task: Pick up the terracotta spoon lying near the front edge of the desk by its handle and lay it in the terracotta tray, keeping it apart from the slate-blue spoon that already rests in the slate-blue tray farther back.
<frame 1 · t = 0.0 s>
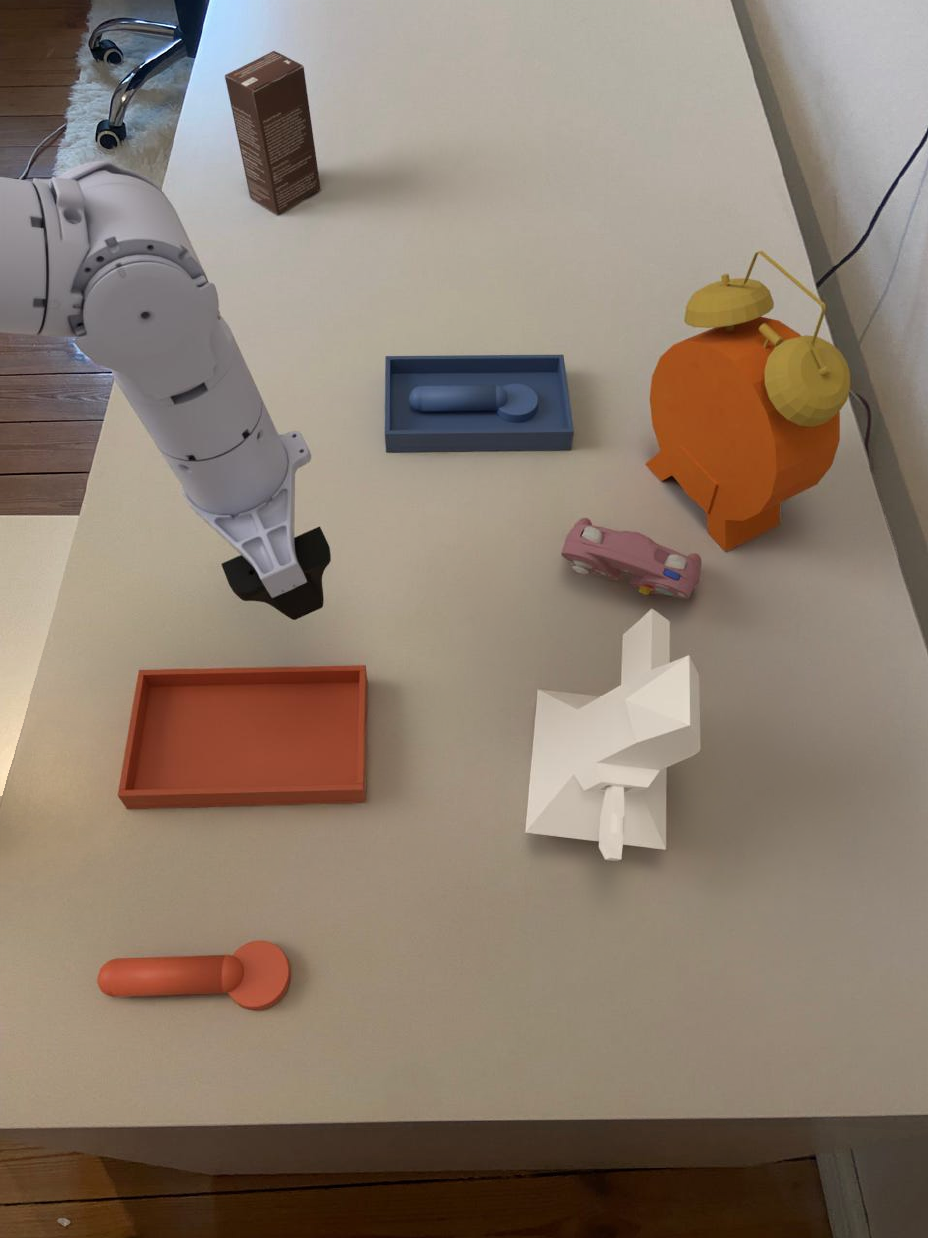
hand: (285, 561, 60), 9 cm above the table, tool pointing down, fingers open, 7 cm apart
red tray: (252, 742, 63), on the table
white faceted sculpture: (592, 791, 61), on the table
red spoon: (202, 979, 54), on the table
blue tray: (476, 411, 79), on the table
box: (284, 196, 95), on the table
pink toy car: (626, 579, 71), on the table
alarm clock: (712, 494, 75), on the table
blue spoon: (476, 407, 79), resting on blue tray
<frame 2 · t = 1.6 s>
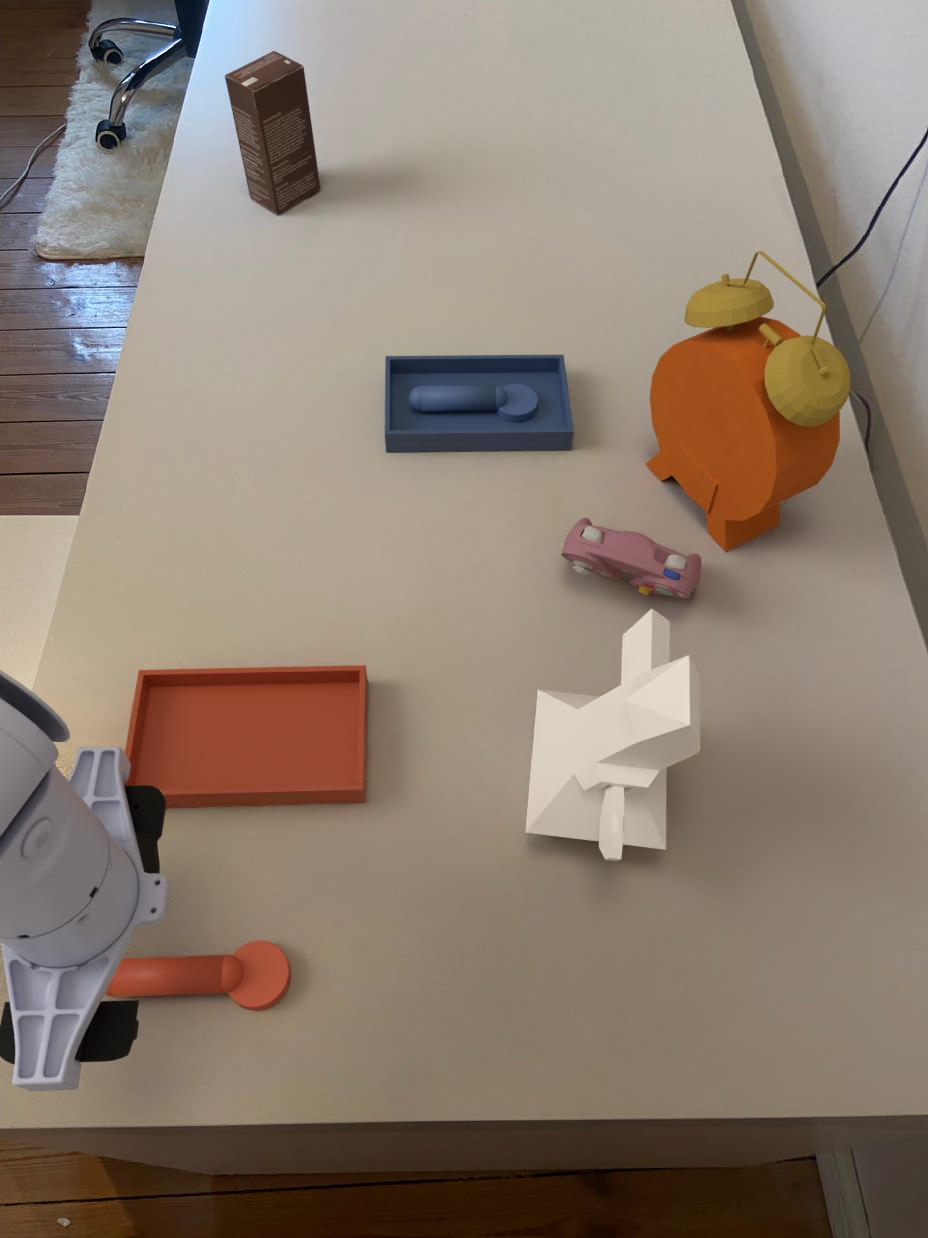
hand: (128, 953, 49), 6 cm above the table, tool pointing down, fingers open, 7 cm apart
nothing on the table moved.
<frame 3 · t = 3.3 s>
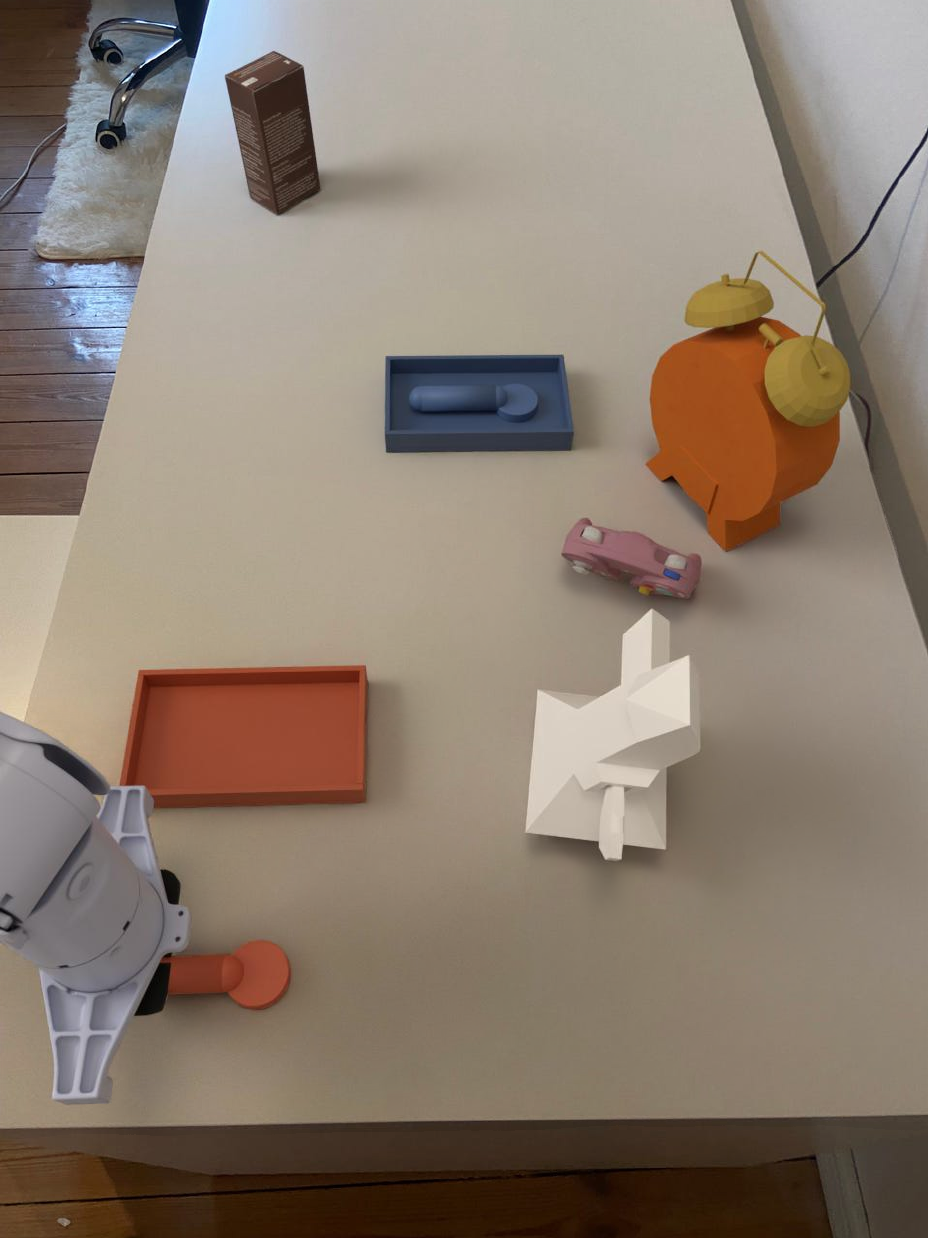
hand: (150, 974, 53), 1 cm above the table, tool pointing down, fingers closed on red spoon, 2 cm apart
red spoon: (202, 978, 54), on the table, touching gripper
everything else where it was.
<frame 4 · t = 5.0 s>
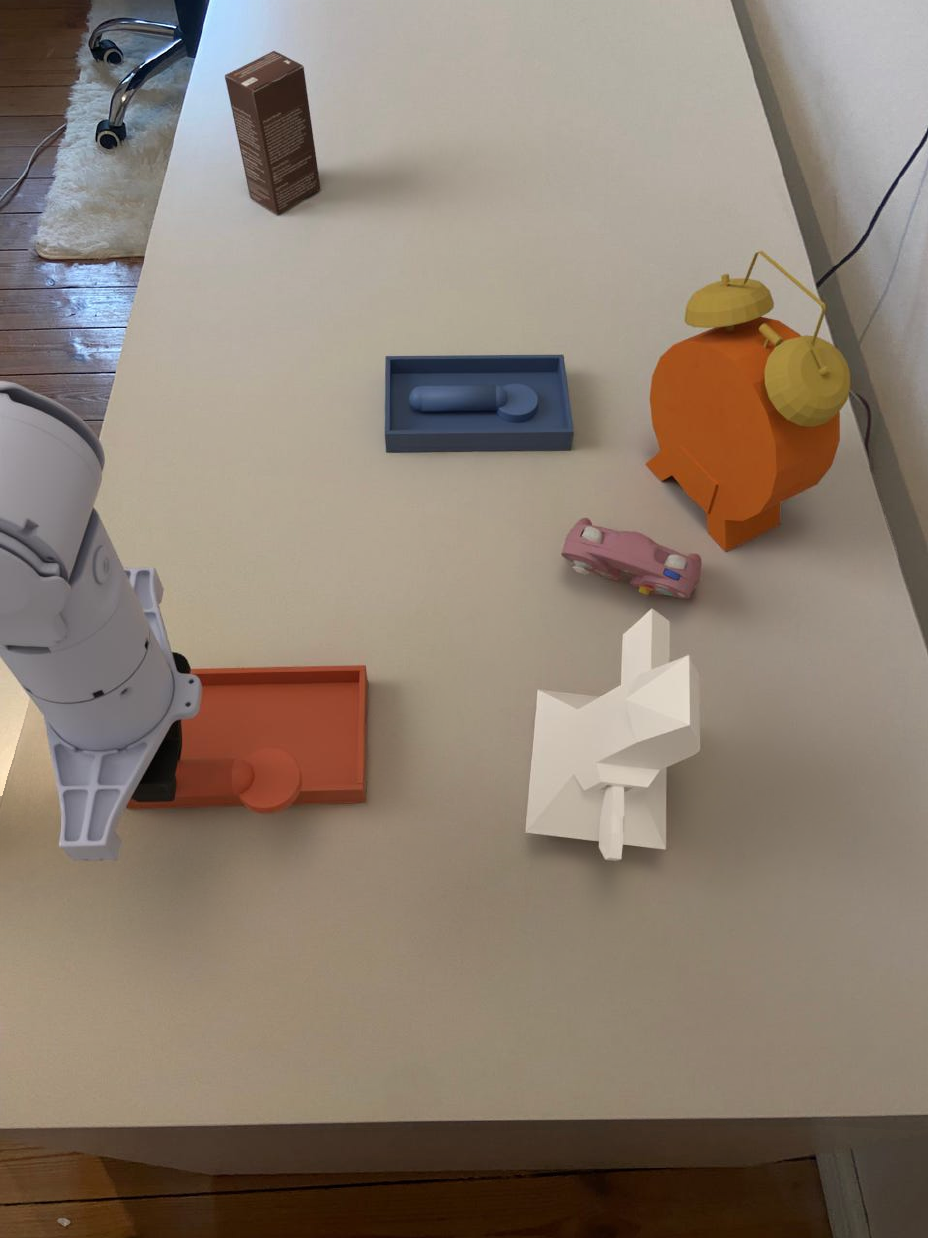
hand: (159, 775, 52), 8 cm above the table, tool pointing down, fingers closed on red spoon
red spoon: (211, 784, 53), point 7 cm above the table, touching gripper
everything else where it was.
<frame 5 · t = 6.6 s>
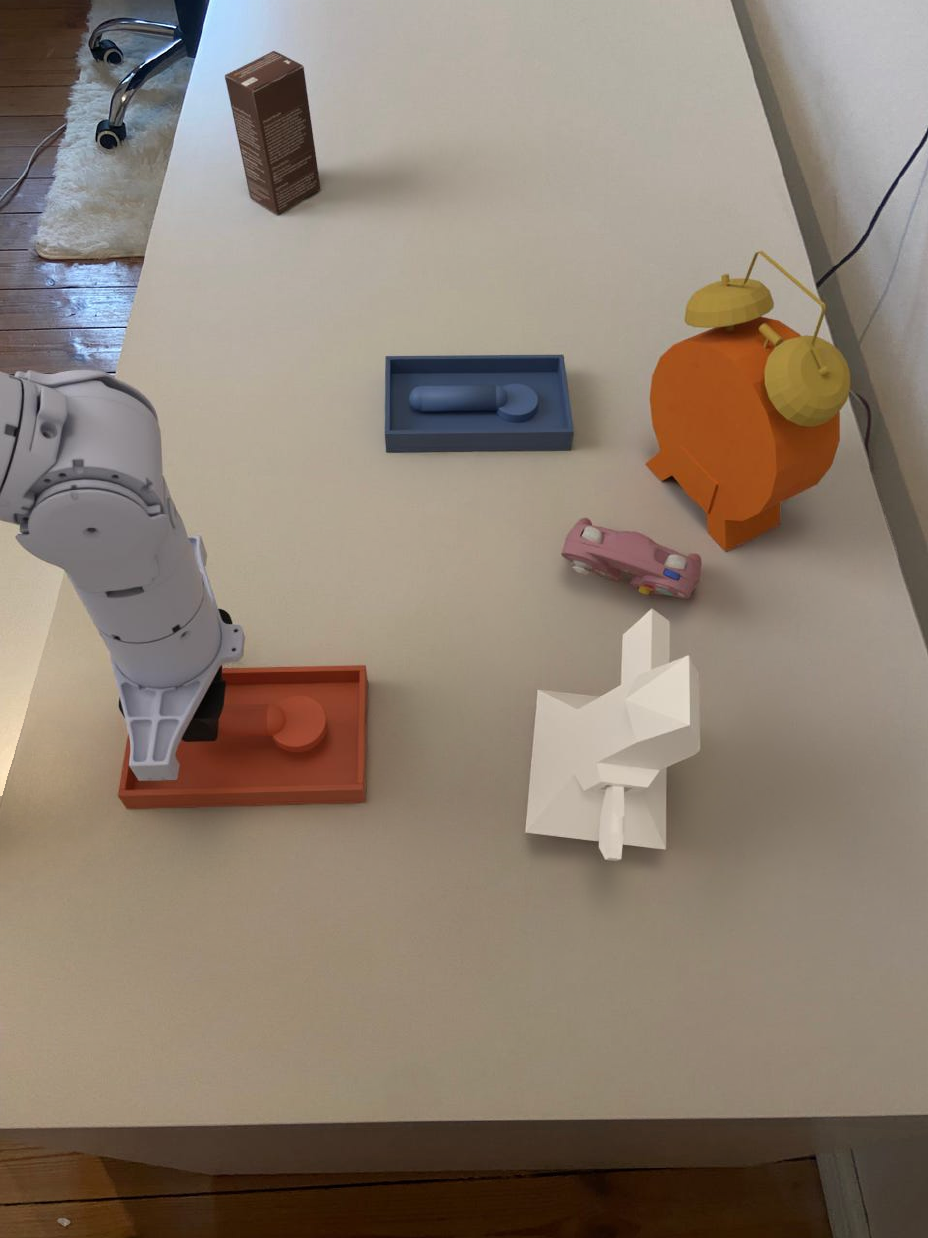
hand: (202, 719, 60), 3 cm above the table, tool pointing down, fingers closed on red spoon, 2 cm apart
red spoon: (248, 728, 61), point 2 cm above the table, touching gripper
everything else where it was.
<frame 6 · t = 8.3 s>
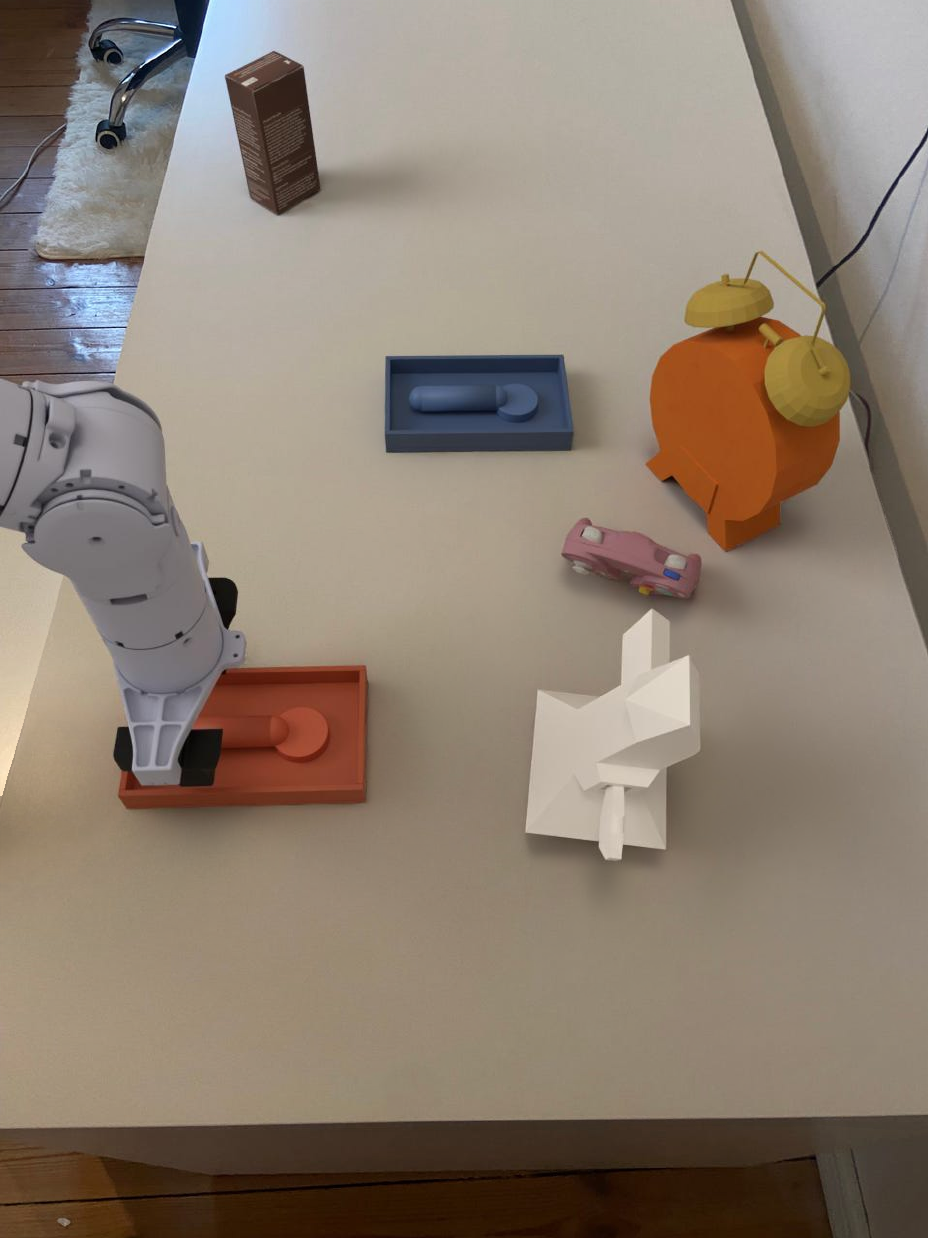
hand: (203, 723, 60), 3 cm above the table, tool pointing down, fingers open, 7 cm apart
red spoon: (251, 738, 62), resting on red tray
everything else where it was.
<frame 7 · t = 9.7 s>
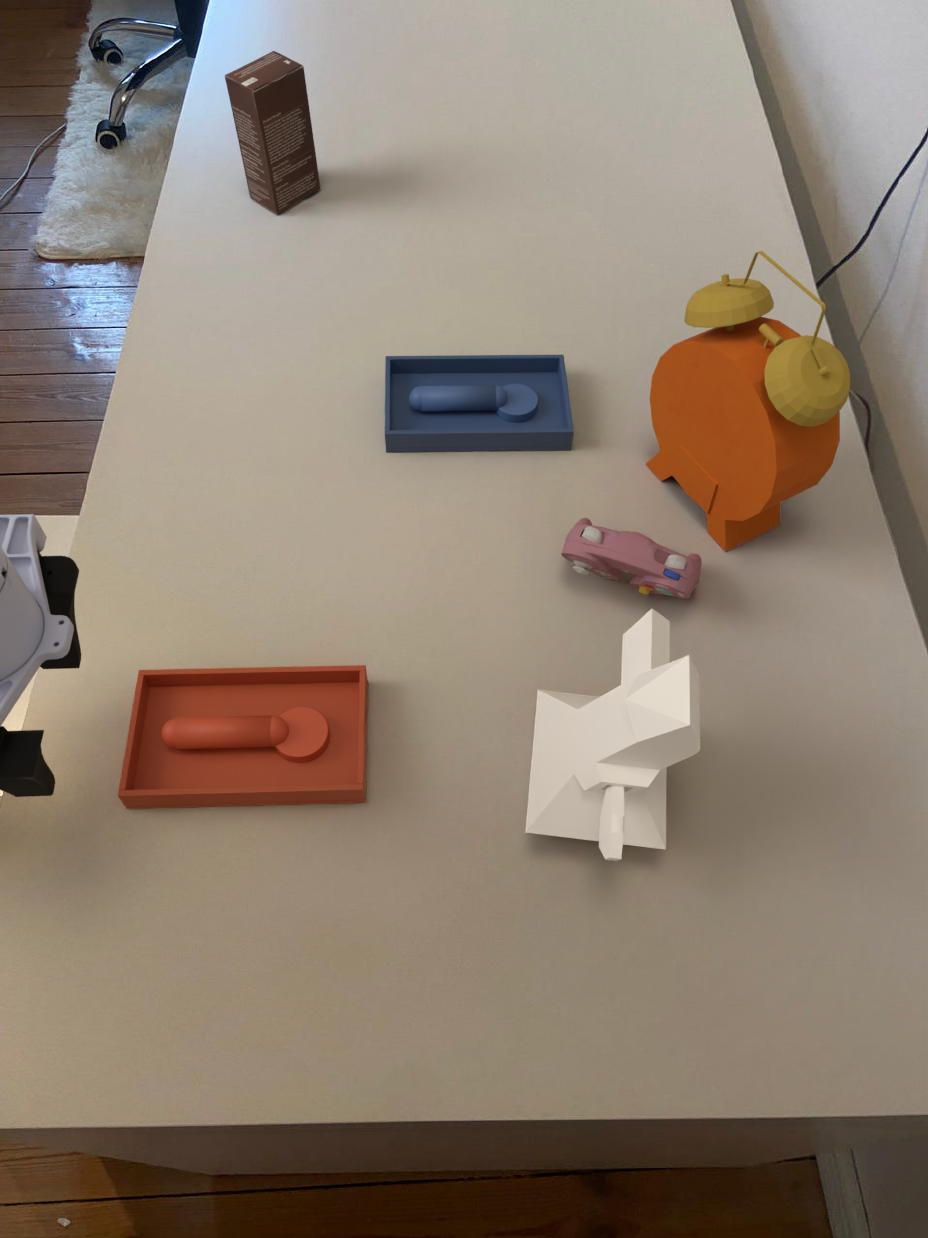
hand: (49, 724, 53), 9 cm above the table, tool pointing down, fingers open, 7 cm apart
nothing on the table moved.
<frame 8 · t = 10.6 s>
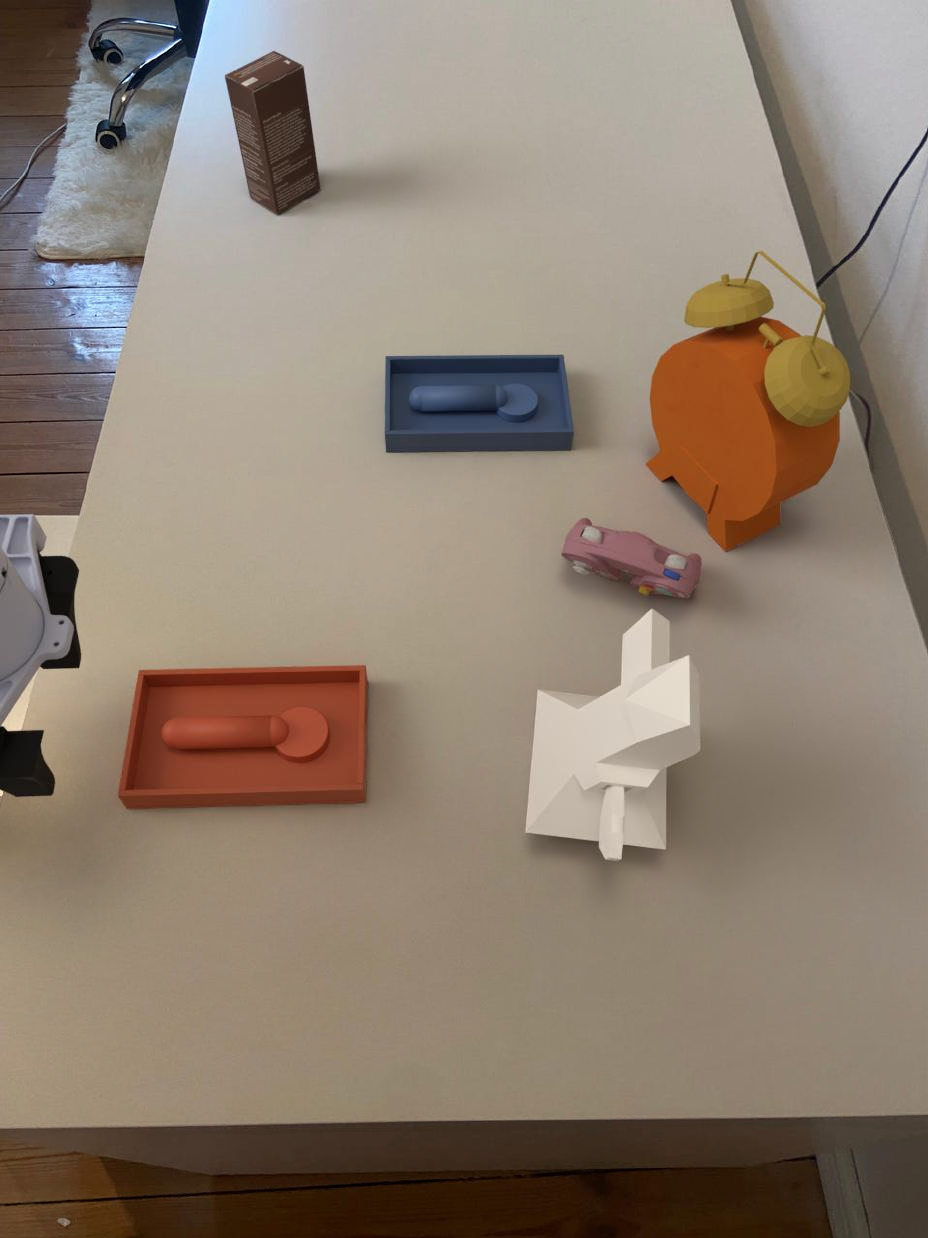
hand: (49, 724, 53), 9 cm above the table, tool pointing down, fingers open, 7 cm apart
nothing on the table moved.
at the end: red spoon inside the target area on the red tray (0.0 cm from its centre), point 0.5 cm above the red tray's base; blue spoon inside the target area on the blue tray (0.0 cm from its centre), point 0.5 cm above the blue tray's base; the gripper is holding nothing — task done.
